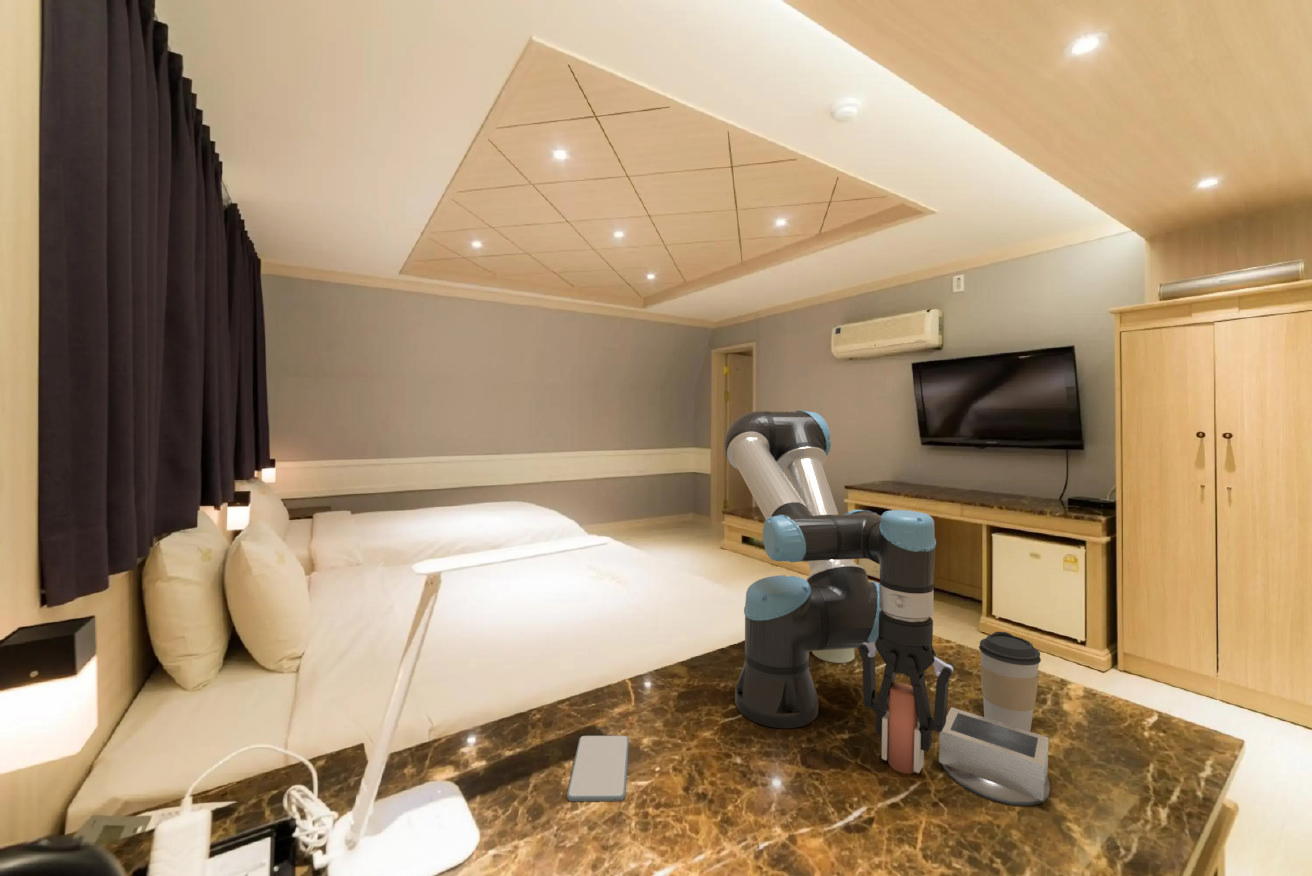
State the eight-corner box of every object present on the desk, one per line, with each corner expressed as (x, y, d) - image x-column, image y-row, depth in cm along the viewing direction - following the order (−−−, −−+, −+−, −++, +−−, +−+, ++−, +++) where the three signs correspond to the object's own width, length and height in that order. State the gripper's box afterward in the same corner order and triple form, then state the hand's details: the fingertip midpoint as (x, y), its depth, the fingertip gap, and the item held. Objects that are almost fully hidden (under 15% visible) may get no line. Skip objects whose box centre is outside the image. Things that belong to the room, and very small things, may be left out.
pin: (884, 766, 83) (886, 690, 82) (892, 753, 86) (894, 680, 85) (912, 777, 80) (914, 699, 79) (919, 763, 83) (921, 688, 83)
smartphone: (629, 734, 90) (625, 796, 75) (629, 740, 90) (624, 803, 75) (579, 735, 90) (565, 797, 75) (579, 740, 90) (565, 804, 75)
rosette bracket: (930, 776, 80) (931, 737, 80) (950, 733, 91) (951, 699, 91) (1045, 821, 71) (1047, 778, 71) (1052, 768, 82) (1053, 730, 82)
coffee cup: (1049, 741, 89) (1052, 652, 88) (989, 734, 91) (991, 648, 90) (1023, 711, 98) (1026, 630, 97) (969, 706, 100) (971, 627, 99)
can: (813, 660, 118) (814, 607, 117) (810, 643, 127) (811, 593, 126) (857, 665, 116) (858, 610, 115) (851, 647, 125) (852, 596, 124)
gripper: (841, 607, 84) (839, 751, 85) (964, 635, 73) (959, 800, 74) (857, 594, 90) (855, 729, 91) (973, 619, 79) (969, 772, 80)
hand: (902, 761), depth 83 cm, fingers closed on pin, 4 cm apart
